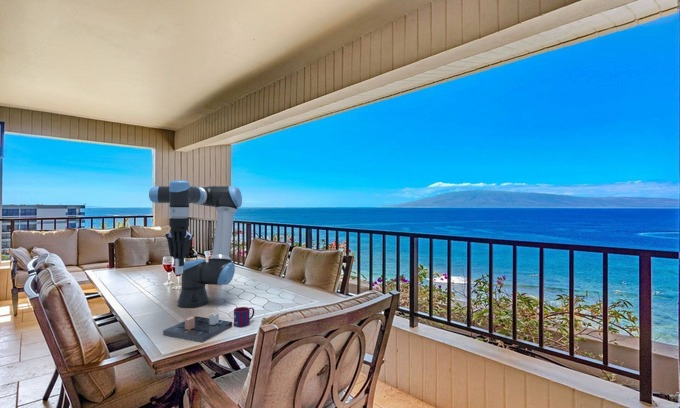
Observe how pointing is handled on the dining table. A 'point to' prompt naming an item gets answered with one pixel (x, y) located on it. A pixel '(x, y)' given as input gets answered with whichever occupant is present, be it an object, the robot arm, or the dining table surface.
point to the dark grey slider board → (197, 330)
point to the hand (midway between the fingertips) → (179, 273)
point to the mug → (242, 316)
